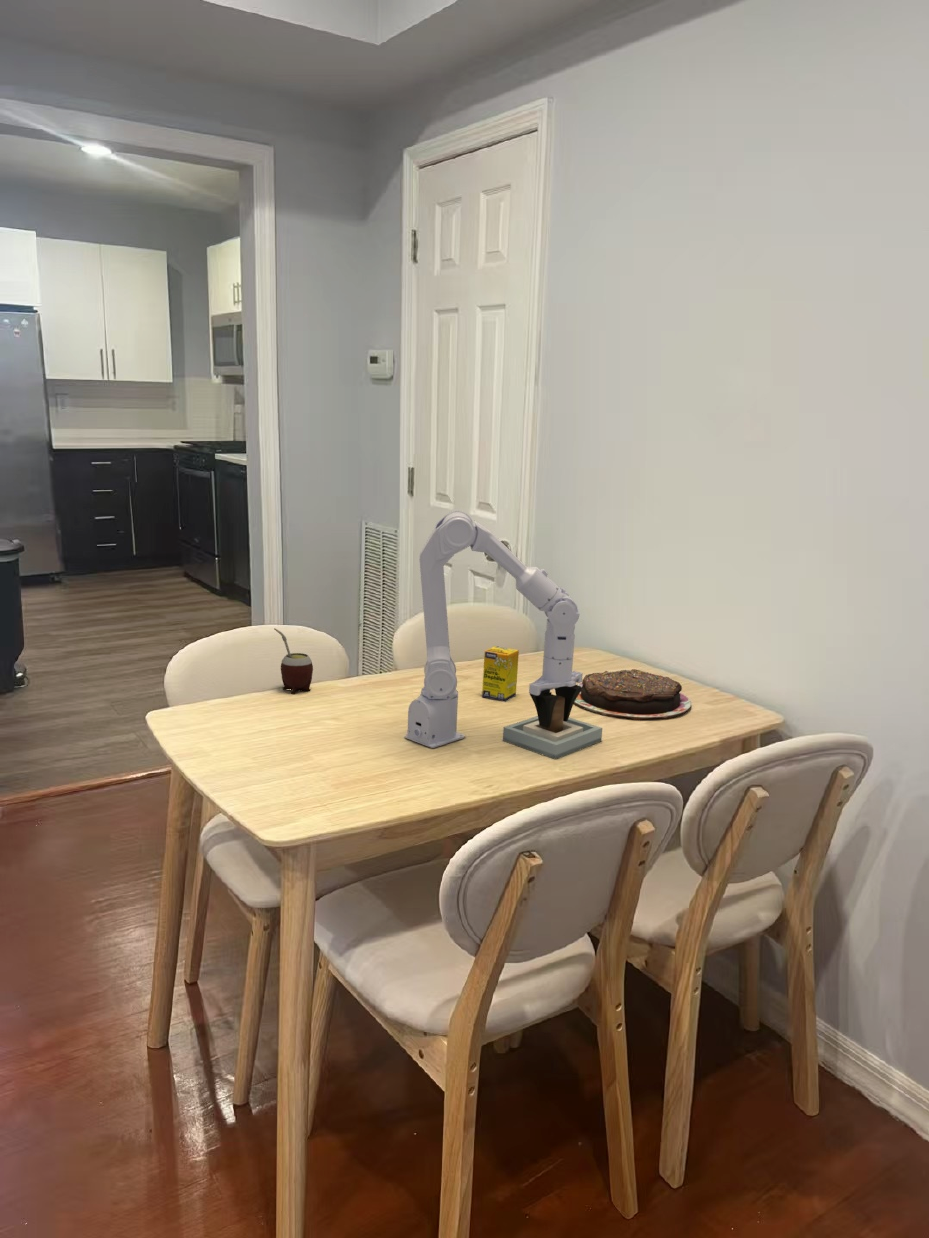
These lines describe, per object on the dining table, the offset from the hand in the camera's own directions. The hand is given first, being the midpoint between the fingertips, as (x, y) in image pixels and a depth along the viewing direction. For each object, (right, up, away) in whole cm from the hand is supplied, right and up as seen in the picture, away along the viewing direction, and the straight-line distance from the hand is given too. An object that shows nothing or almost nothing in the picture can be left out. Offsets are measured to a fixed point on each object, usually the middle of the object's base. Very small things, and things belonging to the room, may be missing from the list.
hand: (553, 723), depth 178 cm
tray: (0, -4, +1) cm, 4 cm away
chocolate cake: (+20, +1, +29) cm, 36 cm away
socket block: (0, -4, +1) cm, 4 cm away
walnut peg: (0, -3, +1) cm, 3 cm away
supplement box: (-10, +3, +28) cm, 30 cm away
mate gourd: (-56, +4, +25) cm, 61 cm away
